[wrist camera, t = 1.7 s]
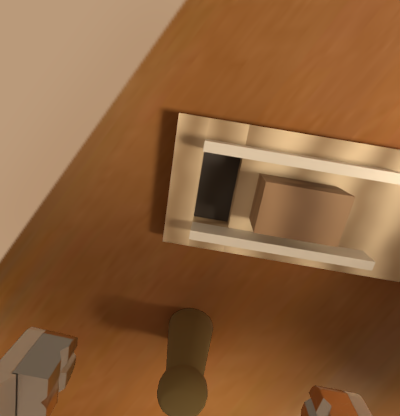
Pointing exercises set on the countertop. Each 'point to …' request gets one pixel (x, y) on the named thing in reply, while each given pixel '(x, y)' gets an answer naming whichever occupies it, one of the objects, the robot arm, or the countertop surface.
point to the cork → (185, 364)
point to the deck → (249, 172)
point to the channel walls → (282, 244)
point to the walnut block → (300, 210)
